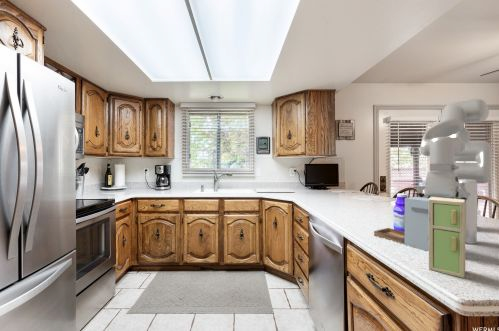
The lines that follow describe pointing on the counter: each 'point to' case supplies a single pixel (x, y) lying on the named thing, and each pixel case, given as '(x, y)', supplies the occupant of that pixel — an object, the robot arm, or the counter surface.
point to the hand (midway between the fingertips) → (441, 211)
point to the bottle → (399, 212)
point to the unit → (417, 222)
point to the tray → (391, 234)
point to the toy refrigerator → (447, 236)
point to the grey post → (470, 210)
